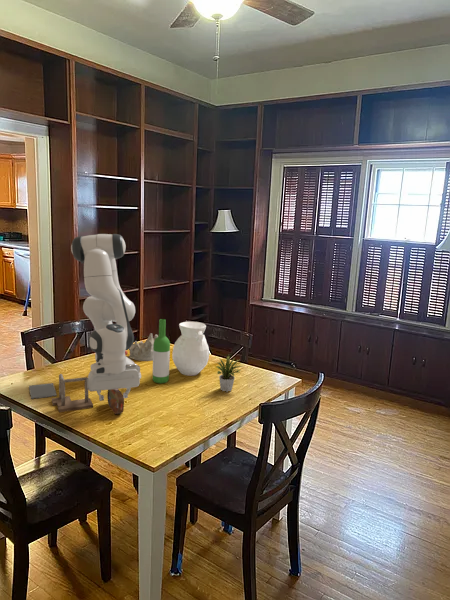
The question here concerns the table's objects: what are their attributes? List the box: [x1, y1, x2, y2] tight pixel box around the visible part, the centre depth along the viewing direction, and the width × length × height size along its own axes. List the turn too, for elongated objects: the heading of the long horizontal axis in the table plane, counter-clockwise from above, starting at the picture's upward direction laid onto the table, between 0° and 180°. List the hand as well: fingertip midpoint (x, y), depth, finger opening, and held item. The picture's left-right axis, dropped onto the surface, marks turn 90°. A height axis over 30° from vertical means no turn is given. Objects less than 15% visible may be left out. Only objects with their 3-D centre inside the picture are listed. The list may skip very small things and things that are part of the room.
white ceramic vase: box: [171, 321, 210, 376], centre depth 226 cm, size 19×18×25 cm
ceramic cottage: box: [128, 332, 159, 362], centre depth 248 cm, size 16×16×15 cm
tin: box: [107, 389, 125, 415], centre depth 181 cm, size 15×3×8 cm, turn 30°
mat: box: [28, 382, 58, 400], centre depth 195 cm, size 10×14×1 cm
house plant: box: [214, 355, 244, 393], centre depth 205 cm, size 14×14×16 cm
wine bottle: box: [152, 318, 171, 384], centre depth 212 cm, size 8×8×30 cm
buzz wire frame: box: [51, 373, 94, 413], centre depth 183 cm, size 14×12×12 cm
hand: (113, 398), depth 180 cm, fingers open, 8 cm apart
